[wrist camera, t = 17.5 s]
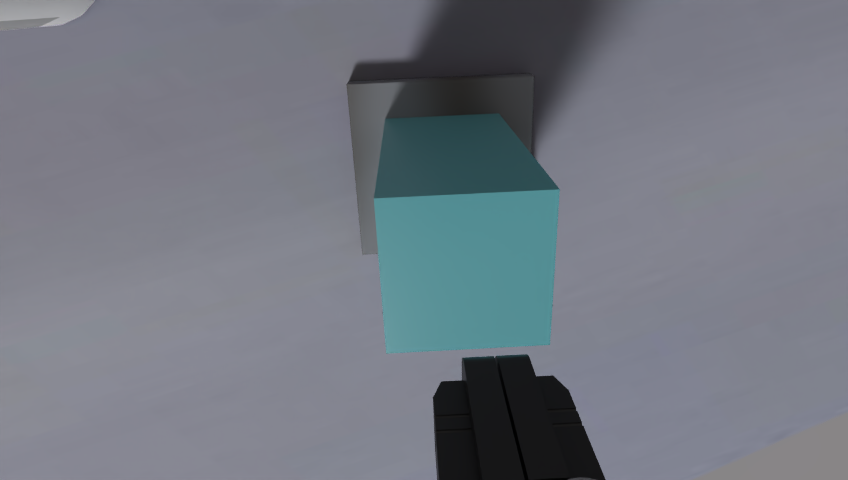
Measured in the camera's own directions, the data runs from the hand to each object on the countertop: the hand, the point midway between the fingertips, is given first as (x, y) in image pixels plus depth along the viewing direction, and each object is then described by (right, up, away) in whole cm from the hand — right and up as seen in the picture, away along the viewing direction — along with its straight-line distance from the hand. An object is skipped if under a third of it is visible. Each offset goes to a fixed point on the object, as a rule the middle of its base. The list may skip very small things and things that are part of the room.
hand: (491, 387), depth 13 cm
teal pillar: (-1, +7, +16) cm, 17 cm away
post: (-1, +7, +17) cm, 18 cm away
